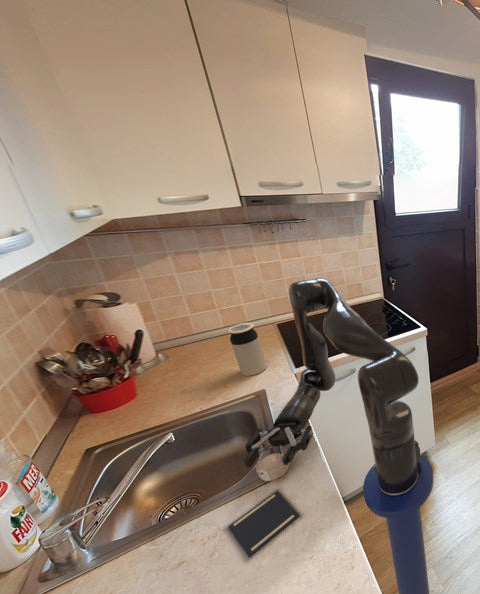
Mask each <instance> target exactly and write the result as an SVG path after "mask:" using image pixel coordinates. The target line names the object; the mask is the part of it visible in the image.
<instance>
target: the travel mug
mask: <svg viewBox="0 0 480 594" xmlns="http://www.w3.org/2000/svg"><path fill="white" fill-rule="evenodd" d="M227 332H228V333H229V334H230V337H229V341H230V344H231V347H232V349H233V352H234V356H235V358H236V361H237V365H238V367H239V370H240V374H241V375H242V376H245V377H250V376H256V375H258V374H260V373H262V372H263V371H265V370H266V369H267V366H268V365H267V362H266V359H265V356H264V351H263V349H262V345H261V342H260V339H259V336H258V331H256V330H255V329H254V323H251V322H242V323H238V324H234V325H233V326H231V327H230V328H228V330H227Z"/></svg>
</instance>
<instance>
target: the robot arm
mask: <svg viewBox="0 0 480 594" xmlns="http://www.w3.org/2000/svg"><path fill="white" fill-rule="evenodd" d="M288 298H289V303H290V308H291V312H292V315H293V319H294V322H295V323H294V324H295V327H296V329H297V333H298V337H299V340H300V345H301V352H302V362H303V366H304V367H305V369H304V370H303V371H302V372H301V373H300V376H299V378H298V379H299V380H298V385H297V388H296V390H295V392H294V394H293V395H292V396H291V398H290V399H289V400H288V402H287V403H286V404H285V406H284V407H283V408H282V410H281V411H280V412H279V414H278V415H277V417H276V419H275V420H274V423H273V425H272V427H271V428H270V429H268V430H263V428H258V429H256V431H255V432H254V433H253V434H252V436H251V437H250V439H249V440H248V441H247V442H246V443H245V445H244V447H245V450H246V452H247V455H246V456H245V458H244V459H243V462H244V464H245V467H246V469H247V468H252V467H253V465H254V463H255V461H256V460H257V458H258V457H259V455H260V454H261V453H263V452H264V451H269V450H270V449H272V448H273V447H280V446H281V447H286V446H287V445H289V446H288V448H287V450H286V452H285V453H284V454H283V455H284V457H283V464H284V465H288V463H289V462H290V463H291V462H292V461H293V460H294V458H295V456H296V454H297V453H298V452H299V451H301V450H302V451H306V450H307V448H308V447H309V445H310V442H311V439H312V438H313V435H314V432H313V431H314V430H313V428H312V425H307V424H308V422H309V420H310V418H311V417H312V415H313V413H314V409H316V406H317V404H318V403H319V401H320V399H321V392H327V391H330V390H331V389H332V388H333V387H334V386H335V383H336V374H335V371H334V368H333V366H332V364H331V362H330V360H329V359H330V358H329V351H328V350H329V349H328V343H327V340H326V338H327V339H328V341H329V342H330V344H331V345H332V346H333V347H334V348H335V349H336V350H337V351H339V352H340V353H342V354H345V355H348V356H350V357H351V356H352V357H355V358H359V359H365V360H368V361H371V362H369V363H367V364H364V365H362V366H361V367H360V368H359V369H358V371H357V383H358V388H359V392H360V395H361V399H362V404H363V408H364V413H365V417H366V420H367V421H366V422H367V424H368V429H369V435H370V440H371V447H372V452H373V459H374V464H375V465H376V468H375V471H376V472H377V477H378V485H379V489H380V491H381V492H382V493H383V494H385V495H386V496H389V497H399V496H402V495H405V494H407V493H408V492H410V491H411V490H412V489H413V488H414V487H415V485H416V484H417V481H418V477H419V474H420V473H421V464H420V457H421V455H422V453H421V448H420V444H419V442H418V440H415V431H414V421H413V412H412V409H411V407H410V406H409V405H408V404H407V403H406V402H404V401H402V400H400V399H401V398H404V397H405V396H407V395H410V394H411V393H412V392H414V390H416V389H417V387H418V385H419V375H418V371H417V369H416V367H415V366H414V364H413V363H412V361H411V359H409V357H407V356H406V355H405V354H404V353H403V352H402V351H401V350H399V349H398V348H397V347H396V346H394V345H393V344H392V343H390V342H389V341H387V340H386V339H385V338H383V337H382V336H381V335H380V334H379V333H378V332H377V331H376V330H375V329H373V327H371V326H370V324H368V323H367V321H366V320H365V319H364V318H363V317H362V316H361V315H360V314H359V313H358V312H357V311H356V310H354V309H353V308H352V307H351V306H350V305H349V304H348V302H346V301H345V299H344V298H343V297H342V295H340V293H339V291H338V290H337V289H336V288H335V287H334V285H333V284H332V283H331V282H330V280H328V279H327V278H324V277H316V278H315V277H314V278H310V279H304V280H298V281H294V282H292V283H290V284H289V287H288ZM323 310H327V311H326V313H325V316H324V318H323V322H322V332H323V334H324V335H325V336H324V335H323V334H322V333H321V332H320V331H319V330H318V329H317V328H316V327H314V325H313V324H312V323H311V322H310V321H309V319H308V316H307V314H310V313H315V312H320V311H323ZM325 337H326V338H325ZM300 437H301V439H300V440H299V441H298V442H297V439H298V438H300ZM267 441H269V443H268V442H267Z"/></svg>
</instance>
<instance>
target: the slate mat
mask: <svg viewBox="0 0 480 594" xmlns="http://www.w3.org/2000/svg"><path fill="white" fill-rule="evenodd" d="M299 517H300V514H299V513H298V511H296V509H294V507H292V505H291V504H290V503H289V501H287V499H286V498H284V496H283V495H282V494H281V493H280V492H279V491H278V490H276V491H275V492H273V493H272V494H270V495H269V496H268V497H267V498H265V499H263V500H262V501H261V502H259V503H258V504H257V505H255V506H254V507H253V508H251V509H250V510H249V511H247V512H246V513H244V514H243V515H242V516H240V517H239V518H238V519H236V520H235V521H233V522H232V523H230V524H229V525H228V530H229V531H230V532H231V533H232V535H233V536H234V537H235V539H236V541H237V542H238V544H239V545H240V546H241V548H242V550H243V551H244V552H245V553H246V555H247V557H248V558H251V557H252V556H253V555H254V554H256V553H257V552H258V551H259V550H261V549H262V548H263V547H264V546H265V545H267V544H268V543H269V542H271V540H272V539H274V538H275V537H276V536H278V534H281V532H282V531H283V530H285V529H286V528H287V527H289V526H290V525H291V524H292V523H293V522H295V521H296V520H297V519H298V518H299Z"/></svg>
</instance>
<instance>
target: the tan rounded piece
mask: <svg viewBox="0 0 480 594" xmlns="http://www.w3.org/2000/svg"><path fill="white" fill-rule="evenodd" d="M284 455H285V454H282V453H279V452H278V453H276V452H275V453H270V454H268V455H266V456H265V457H263V458H261V460H259V462H258V463H257V464H256V466H255V472H256V474H258V476H259V478H260V479H261V480H263V481H264V482H271V481H276V480H277V479H279V478H282V477H283V476H284V475H285V474H286V473H287V471H288V469H290V464H291V462H289V463H288V465H284V464H283V457H284Z"/></svg>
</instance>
